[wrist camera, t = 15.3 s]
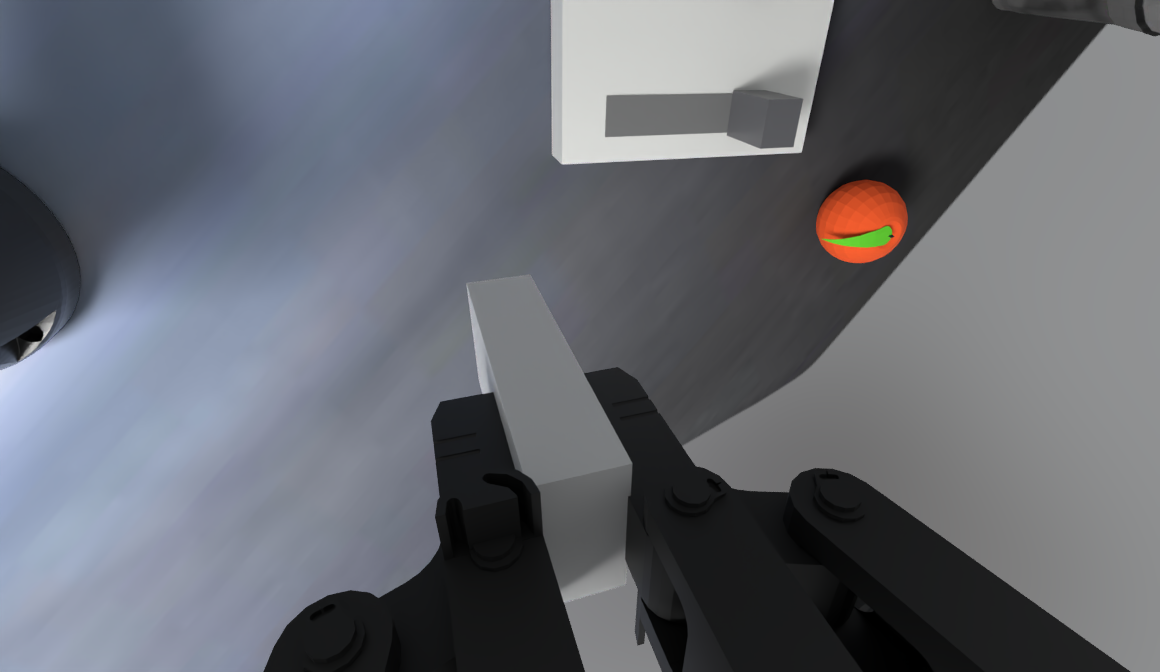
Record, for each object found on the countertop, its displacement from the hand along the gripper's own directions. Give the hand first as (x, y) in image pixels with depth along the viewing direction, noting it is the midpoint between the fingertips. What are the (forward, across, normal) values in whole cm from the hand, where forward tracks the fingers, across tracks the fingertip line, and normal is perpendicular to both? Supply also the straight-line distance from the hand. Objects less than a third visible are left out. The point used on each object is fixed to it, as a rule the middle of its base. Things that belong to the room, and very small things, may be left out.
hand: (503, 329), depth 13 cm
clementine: (+28, +34, -10) cm, 45 cm away
